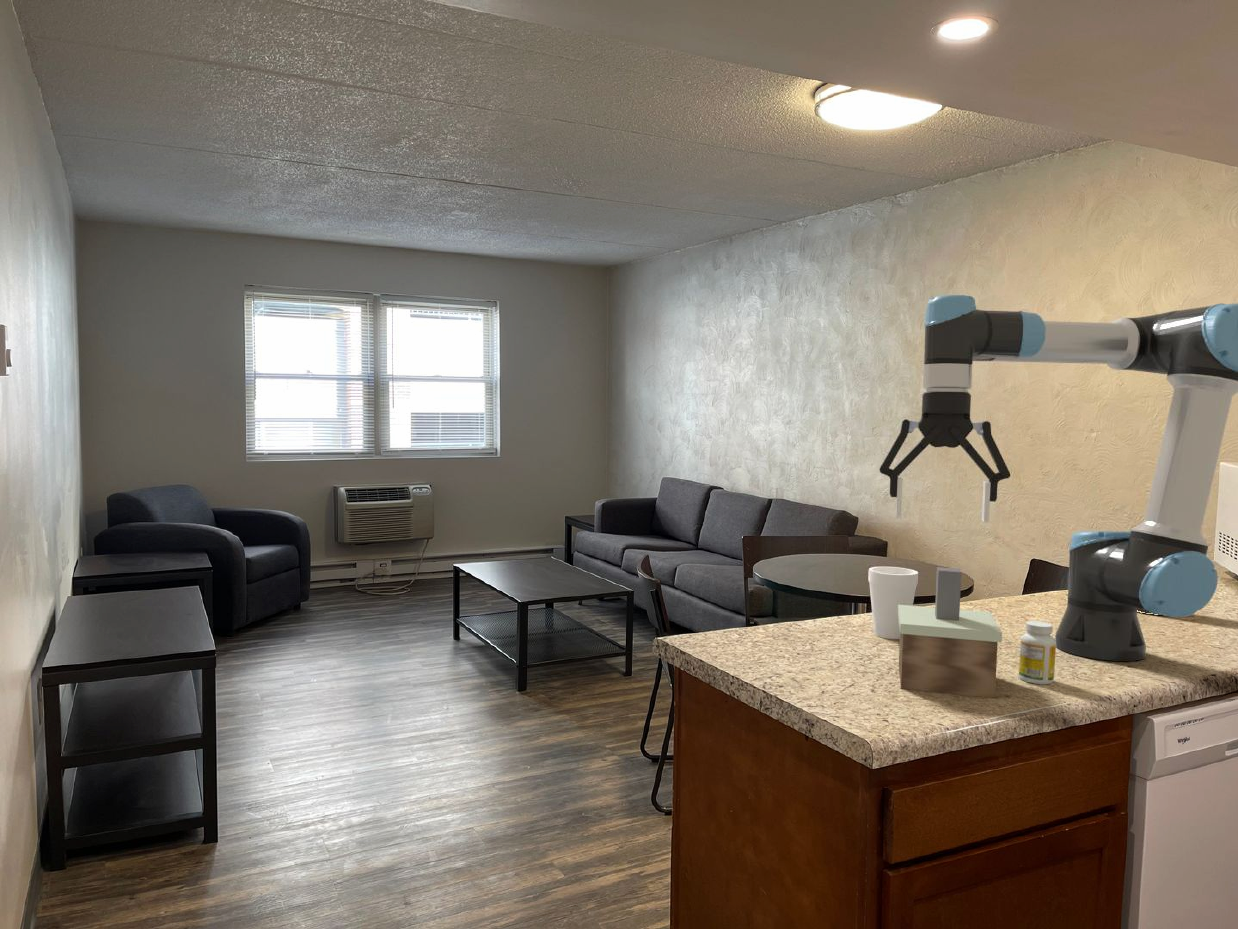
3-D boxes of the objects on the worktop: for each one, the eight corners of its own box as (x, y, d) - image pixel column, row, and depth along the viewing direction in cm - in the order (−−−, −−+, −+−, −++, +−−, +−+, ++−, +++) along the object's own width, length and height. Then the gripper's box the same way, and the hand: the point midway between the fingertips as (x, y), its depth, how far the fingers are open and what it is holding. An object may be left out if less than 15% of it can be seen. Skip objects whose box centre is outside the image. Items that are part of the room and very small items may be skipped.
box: (984, 673, 151) (986, 621, 151) (994, 698, 138) (997, 641, 137) (898, 665, 155) (900, 614, 154) (900, 688, 142) (903, 633, 141)
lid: (989, 621, 151) (992, 565, 150) (1001, 642, 136) (1004, 581, 136) (897, 613, 155) (900, 559, 154) (900, 633, 141) (902, 574, 140)
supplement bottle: (1029, 685, 145) (1032, 627, 144) (1012, 675, 150) (1015, 619, 150) (1060, 685, 145) (1063, 627, 145) (1042, 675, 151) (1045, 620, 150)
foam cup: (921, 634, 177) (924, 570, 176) (906, 643, 170) (909, 577, 169) (875, 627, 183) (878, 565, 182) (859, 635, 175) (861, 570, 175)
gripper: (1025, 392, 145) (1018, 520, 147) (868, 390, 152) (863, 512, 153) (1033, 391, 138) (1026, 525, 139) (868, 389, 145) (863, 517, 146)
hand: (941, 519), depth 146 cm, fingers open, 13 cm apart
